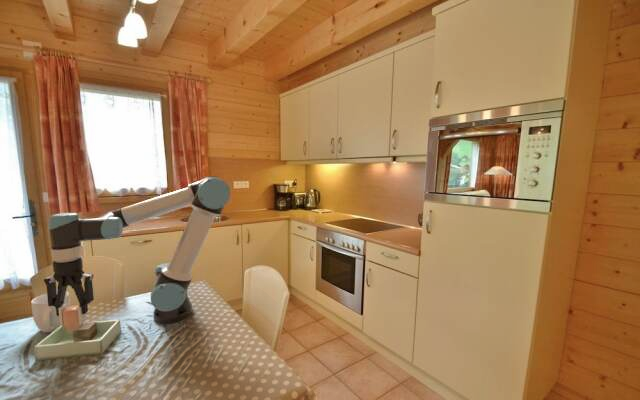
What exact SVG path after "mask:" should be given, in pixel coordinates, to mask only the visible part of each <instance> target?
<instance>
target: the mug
mask: <svg viewBox="0 0 640 400" xmlns="http://www.w3.org/2000/svg"><path fill="white" fill-rule="evenodd" d="M64 302H65V303H64V304H66V305H67V308H68V307H71V297H70V293H69V292H68V291H66V294H65V299H64ZM64 304H63V305H64ZM30 306H31V311H32V312H31V313H32V318H33V321H34V324H35V325H36V327H37V328H38V329H39V330H40V331H41V332H42V333H52V332H53V331H55V330H56V329H57V328H58V327H60V319H59V316H57V315H56V308H55V307H54V306H48V297H47V293H44V294H41V295H38V296H36V297H35V298H33V299H32V300H30Z"/></svg>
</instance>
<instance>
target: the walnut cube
mask: <svg viewBox="0 0 640 400" xmlns="http://www.w3.org/2000/svg"><path fill="white" fill-rule="evenodd" d="M86 322H87V323H85V322H84V323H83V327H81V328H80V329H78V330H75V331H73V340H74V342H79V341H89V340H92V339H93V338H94V337H95V336H96V335H97V324H96V322H97V321H86Z"/></svg>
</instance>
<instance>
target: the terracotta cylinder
mask: <svg viewBox="0 0 640 400" xmlns="http://www.w3.org/2000/svg"><path fill="white" fill-rule="evenodd" d="M79 305H80V304H78V305H77V304H75V305H72V306H71V305H70V307H68V308H65V309H64V310H63V311H62V312H63V323H64V331H65V332H71V331H75V330H78V329H80V328H81V327H83V323H82V324H79V319H78V308H77V307H78V306H79Z"/></svg>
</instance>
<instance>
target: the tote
mask: <svg viewBox="0 0 640 400" xmlns="http://www.w3.org/2000/svg"><path fill="white" fill-rule="evenodd" d="M87 322H88V321H85V322H84V323H87ZM95 322H96V324H97V335H96V336H95V337H94V338H93V339H92V340H89V341H79V342H74V340H73V331H71V332H65V331H64V325H63V326H60V327H58V328H57V329H56V330H55V331H53V332H50V334H48V335H47V336H46V337H44V338H43V339H42V340H40V342H38V343H37V344H35V345H34V346H33V351H34V361H35V362H39V361H48V360H57V359H66V358H76V357H77V358H78V357H85V356H87V357H88V356H96V355H102V354H103V353H104V352H106V349H107V348H109V346H110V345H111V344H112V343H113V341H115V339H116V338H117V337H118V336H119V335H120V333H121V332H122V326H121V325H122V324H121V319H109V320H99V321H97V320H96V321H95Z"/></svg>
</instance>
